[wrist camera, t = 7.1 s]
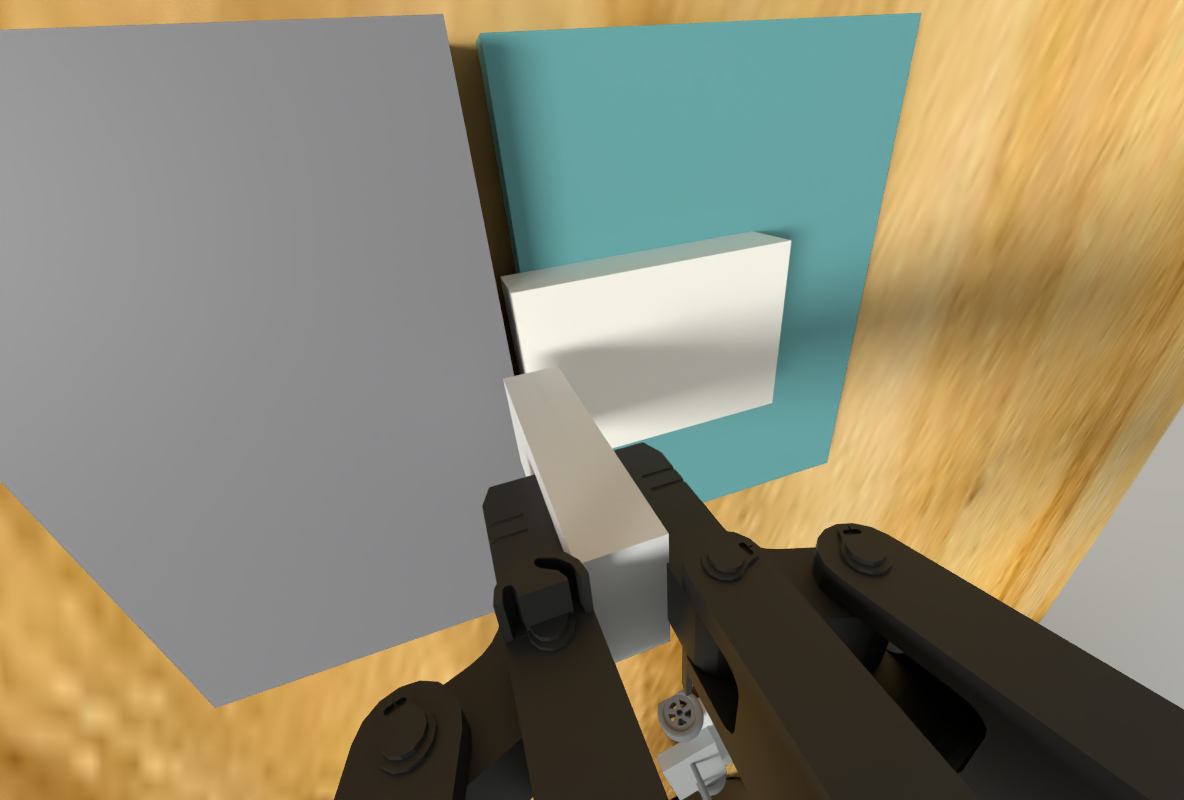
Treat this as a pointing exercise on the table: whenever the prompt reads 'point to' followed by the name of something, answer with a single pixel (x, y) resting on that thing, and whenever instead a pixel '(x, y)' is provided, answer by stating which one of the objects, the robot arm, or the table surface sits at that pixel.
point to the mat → (712, 184)
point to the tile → (657, 331)
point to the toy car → (692, 748)
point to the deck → (252, 334)
